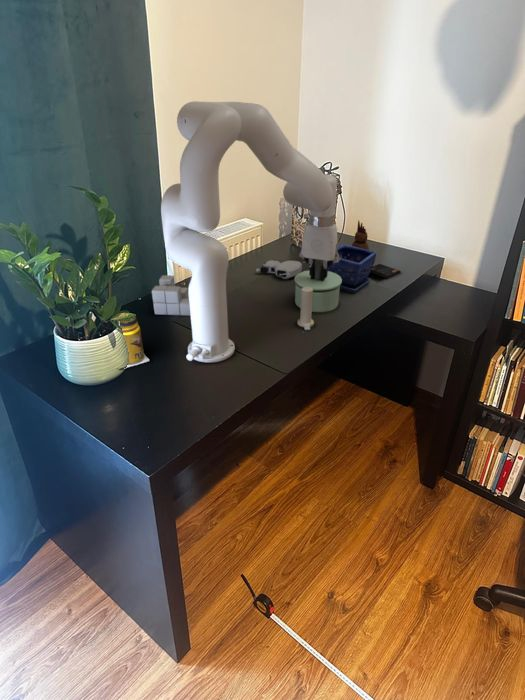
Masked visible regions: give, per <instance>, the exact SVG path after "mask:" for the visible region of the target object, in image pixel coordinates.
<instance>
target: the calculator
mask: <svg viewBox="0 0 525 700" xmlns="http://www.w3.org/2000/svg"><path fill="white" fill-rule="evenodd" d="M370 274H374V275H376V276H380V277H382V278H385V279H391V278H393V277H395V276H397V275H399V274H401V270H399V269H396V268H393V267H390V266H388V265H384V264H381V263H378V264H374V265H373V267H372V270H371V272H370Z"/></svg>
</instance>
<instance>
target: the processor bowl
mask: <svg viewBox="0 0 525 700" xmlns="http://www.w3.org/2000/svg"><path fill="white" fill-rule="evenodd" d="M301 289H302V287H300V286H298V285H297V284H296V283H295V290H294V291H295V292H294V296H295V297H294V304H295V305H296V306H297V307H298V308H299V309H301ZM340 291H341V290H340V286H338V287H337V288H334V289H330V290H321V291H320V290H313V296H312V312H313V313H324V312H329V311H333V310H335V309H336V308H337V307H338V306H339V303H340V302H339V301H340Z"/></svg>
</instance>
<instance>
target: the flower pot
mask: <svg viewBox="0 0 525 700" xmlns="http://www.w3.org/2000/svg"><path fill="white" fill-rule="evenodd" d="M337 252H338V254H339V257H340V261H339V262H337V263H334V264H332V265H330V266H329V267H328V271H330V272H333V273H335V274H337V275H339V276H340V277H341V279H342V283H341V285H340V290H339V291H344V292H348V293H351V294H355V293H357V292H359V291H360V290H361V289H363V288H364V287H366V286H367V285H368V284H369V283H370V282H371V278H369V275H370V274H371V270H372V267H373V266H375V262H376V258H377V252H376V251H373V250H370V249H369V250H367V249H362V248H358V247H354V246H352V245H349V244H341V245H339V246H338V247H337ZM358 256H360V259H358V258H357V257H358ZM351 259H352V260H351ZM353 259H354V260H353Z"/></svg>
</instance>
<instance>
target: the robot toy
mask: <svg viewBox="0 0 525 700" xmlns="http://www.w3.org/2000/svg"><path fill="white" fill-rule="evenodd" d="M303 264H306V261H301V262H300V261H299V260H298V261H297V260H290V259H289V260H284V261H282V262H281V261H278V260H277V259H271V260H268V261H264V262H263V263H262V265H261V267H260V268H259V267H258V268H256V269H255V271H256V272H257V273H259V272H260V274H266V273H267V274H275V276H276V277H278V278H282V279H284V280H288V279H291V278H293V277H294V278H295V276H296V275H297V274H299V273H301V272H302V270H303Z"/></svg>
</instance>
